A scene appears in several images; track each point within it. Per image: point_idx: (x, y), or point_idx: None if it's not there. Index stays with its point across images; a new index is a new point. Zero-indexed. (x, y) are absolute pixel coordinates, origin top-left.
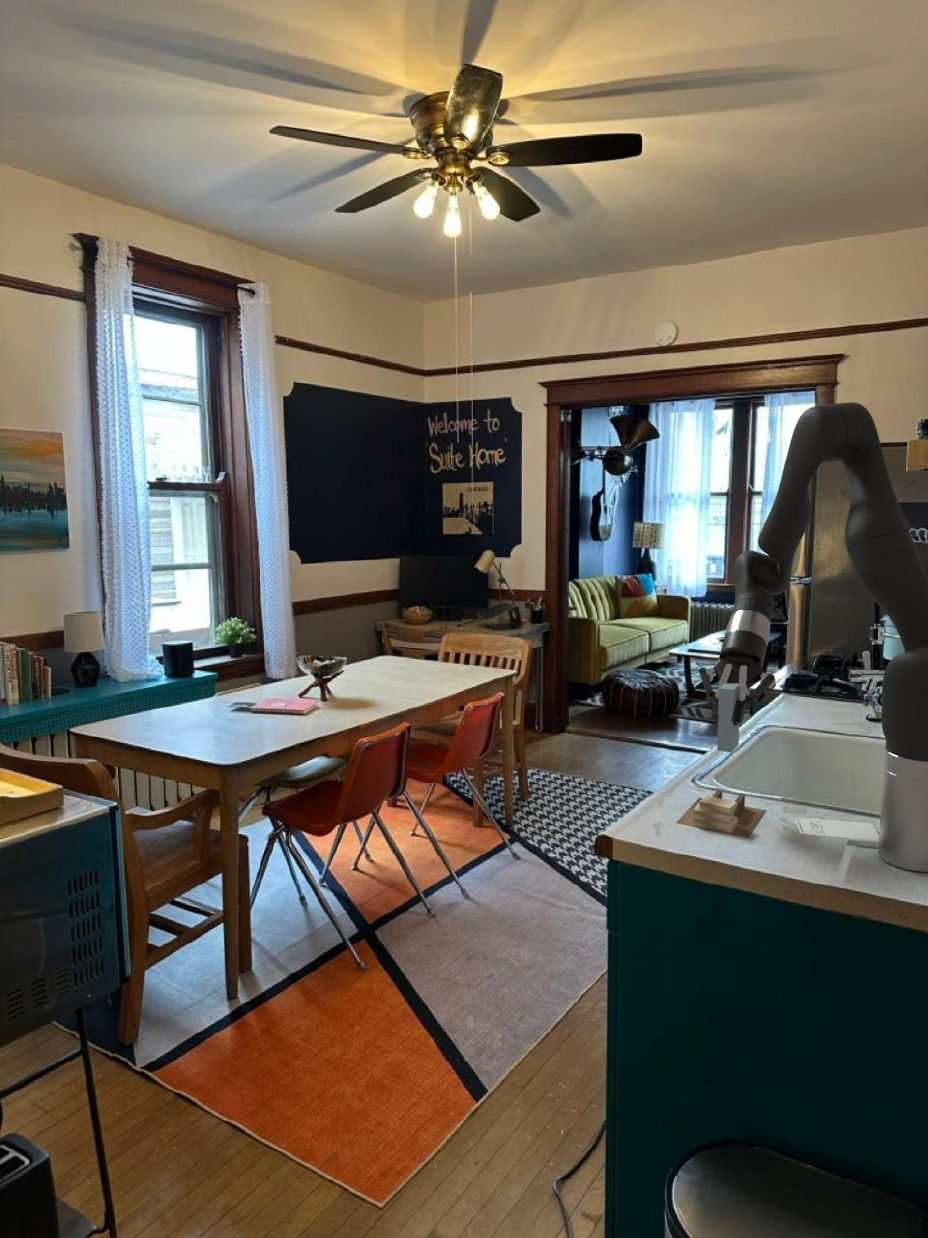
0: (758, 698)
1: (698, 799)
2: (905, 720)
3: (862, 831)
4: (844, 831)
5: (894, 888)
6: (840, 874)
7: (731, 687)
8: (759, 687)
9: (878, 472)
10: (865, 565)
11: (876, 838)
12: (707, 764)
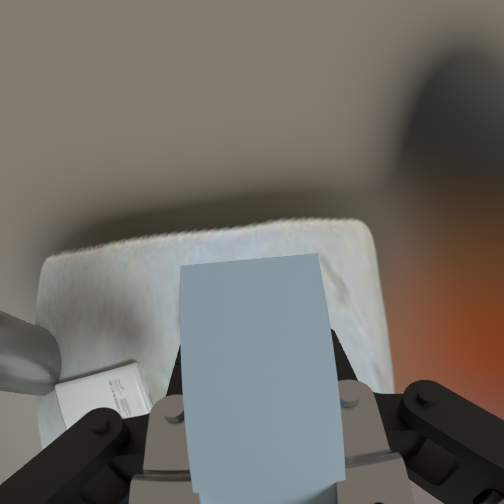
0: (109, 485)
1: None
2: None
3: (74, 411)
4: (90, 402)
5: (53, 277)
6: (91, 280)
7: (225, 352)
8: (51, 477)
9: None
10: None
11: (59, 391)
12: None
